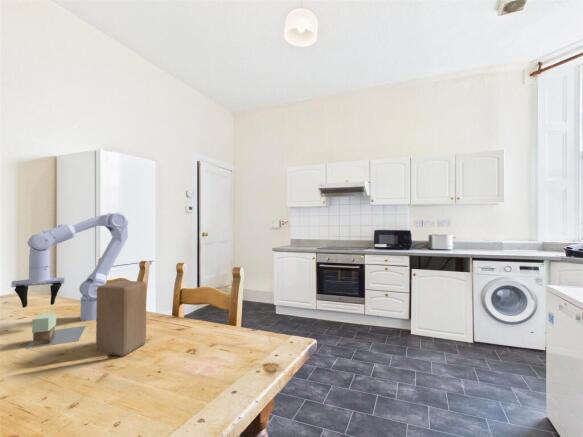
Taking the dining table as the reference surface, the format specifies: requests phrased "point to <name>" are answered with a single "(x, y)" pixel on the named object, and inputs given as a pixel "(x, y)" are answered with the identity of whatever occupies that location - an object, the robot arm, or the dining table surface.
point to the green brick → (43, 322)
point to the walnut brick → (43, 337)
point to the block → (121, 317)
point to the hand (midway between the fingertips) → (38, 305)
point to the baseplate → (63, 336)
